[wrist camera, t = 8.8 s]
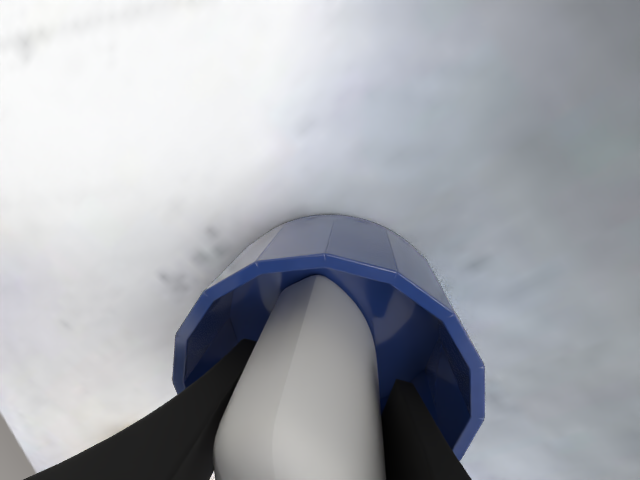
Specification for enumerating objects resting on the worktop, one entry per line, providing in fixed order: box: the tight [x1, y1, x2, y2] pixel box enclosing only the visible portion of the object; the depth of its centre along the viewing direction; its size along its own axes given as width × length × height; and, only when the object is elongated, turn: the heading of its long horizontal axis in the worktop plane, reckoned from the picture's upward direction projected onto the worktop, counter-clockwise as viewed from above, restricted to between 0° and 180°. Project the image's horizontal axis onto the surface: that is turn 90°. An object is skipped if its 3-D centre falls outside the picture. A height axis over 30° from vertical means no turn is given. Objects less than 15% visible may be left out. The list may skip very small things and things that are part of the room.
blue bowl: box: [172, 214, 485, 461], centre depth 13 cm, size 10×10×5 cm
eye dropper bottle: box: [213, 275, 386, 480], centre depth 9 cm, size 4×6×12 cm
